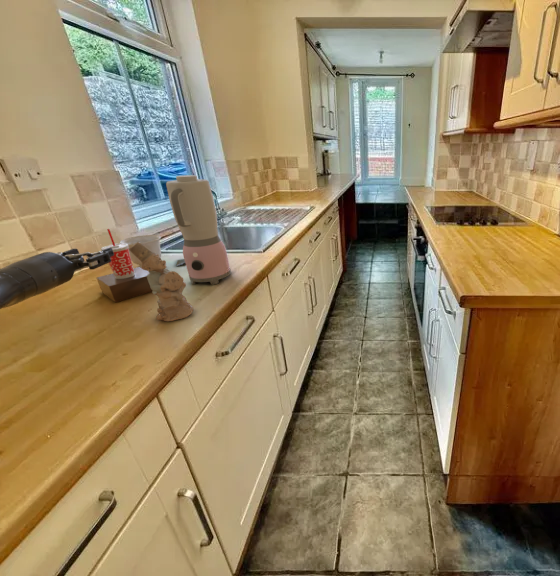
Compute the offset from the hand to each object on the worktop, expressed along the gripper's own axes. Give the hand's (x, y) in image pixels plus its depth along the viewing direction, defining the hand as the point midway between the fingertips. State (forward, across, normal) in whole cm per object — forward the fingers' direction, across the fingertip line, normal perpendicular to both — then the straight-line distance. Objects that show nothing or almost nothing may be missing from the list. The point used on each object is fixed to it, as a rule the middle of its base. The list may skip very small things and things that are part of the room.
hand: (94, 251), depth 83 cm
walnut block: (+7, 0, +15) cm, 16 cm away
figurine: (-10, -21, +15) cm, 28 cm away
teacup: (+29, +9, +15) cm, 34 cm away
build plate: (+34, -7, +15) cm, 38 cm away
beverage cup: (+7, 0, +10) cm, 12 cm away
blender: (+14, -20, +15) cm, 29 cm away
